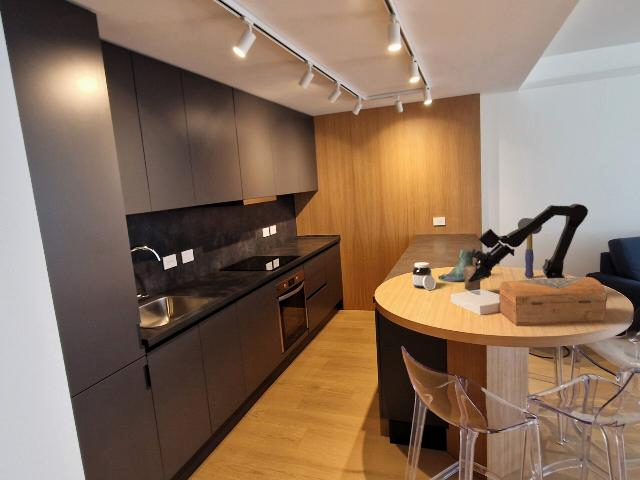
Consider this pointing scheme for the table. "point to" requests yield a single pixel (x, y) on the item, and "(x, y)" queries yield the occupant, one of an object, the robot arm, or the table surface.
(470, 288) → the walnut peg
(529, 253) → the rubber mallet
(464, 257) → the tree stump
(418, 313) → the table surface
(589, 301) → the wooden box
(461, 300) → the white board
